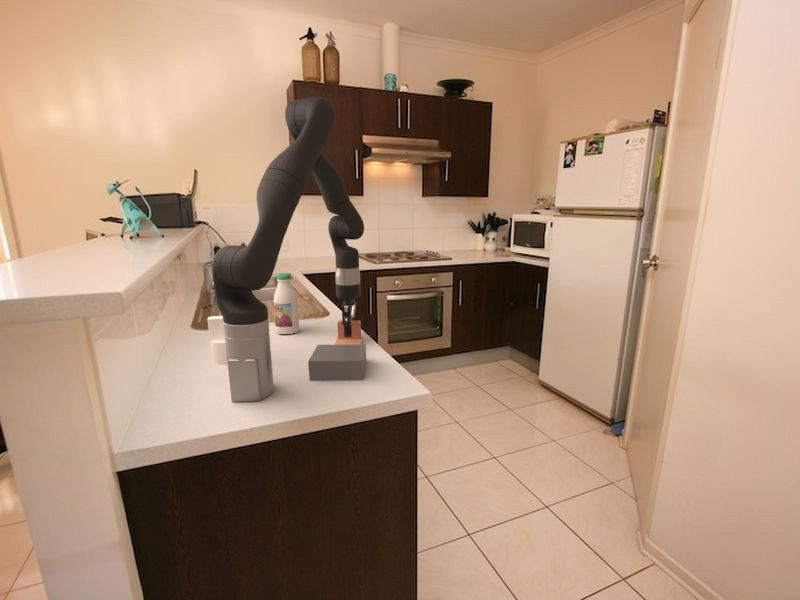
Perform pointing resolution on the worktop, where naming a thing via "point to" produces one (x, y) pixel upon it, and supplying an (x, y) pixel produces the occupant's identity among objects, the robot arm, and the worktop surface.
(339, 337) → the peach l-shaped block
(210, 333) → the base with upright slab
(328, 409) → the worktop surface
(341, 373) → the grey square block
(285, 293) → the milk bottle
